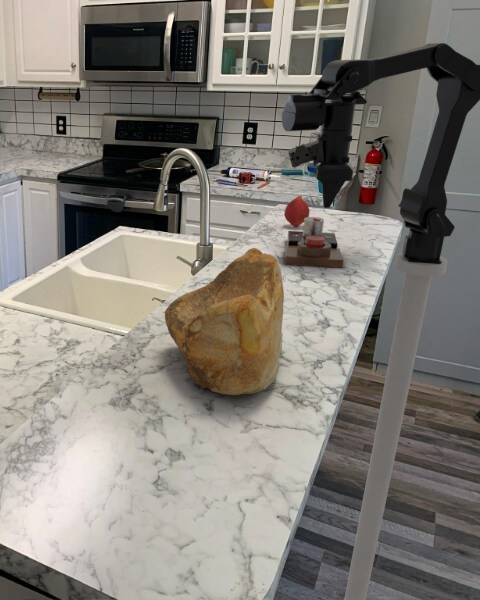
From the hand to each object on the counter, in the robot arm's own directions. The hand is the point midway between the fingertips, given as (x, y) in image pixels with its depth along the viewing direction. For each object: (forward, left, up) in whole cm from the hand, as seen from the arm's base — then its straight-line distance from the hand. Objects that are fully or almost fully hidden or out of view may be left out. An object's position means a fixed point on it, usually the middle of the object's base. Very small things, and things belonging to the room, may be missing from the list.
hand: (326, 207), depth 125 cm
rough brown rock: (+16, +52, -11) cm, 55 cm away
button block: (+2, +1, -11) cm, 11 cm away
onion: (+5, -25, -11) cm, 28 cm away
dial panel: (+2, -8, -11) cm, 14 cm away
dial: (+2, -8, -9) cm, 12 cm away
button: (+2, +1, -8) cm, 8 cm away
